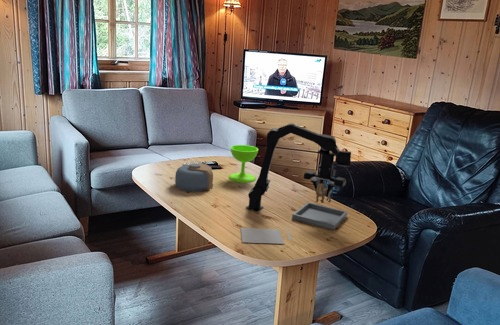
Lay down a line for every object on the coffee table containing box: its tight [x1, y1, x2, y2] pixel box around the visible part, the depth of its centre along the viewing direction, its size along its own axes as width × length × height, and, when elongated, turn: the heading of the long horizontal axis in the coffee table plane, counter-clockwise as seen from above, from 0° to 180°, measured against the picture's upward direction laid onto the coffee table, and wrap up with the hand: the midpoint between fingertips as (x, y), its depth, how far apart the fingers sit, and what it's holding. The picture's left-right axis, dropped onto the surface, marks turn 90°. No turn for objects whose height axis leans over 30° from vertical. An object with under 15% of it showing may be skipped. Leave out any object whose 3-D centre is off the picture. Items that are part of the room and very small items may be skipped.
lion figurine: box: [315, 182, 332, 204], centre depth 206 cm, size 15×5×9 cm, turn 154°
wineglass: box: [228, 144, 259, 184], centre depth 257 cm, size 16×16×18 cm
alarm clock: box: [174, 162, 214, 192], centre depth 237 cm, size 19×20×12 cm
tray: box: [291, 201, 348, 231], centre depth 208 cm, size 20×20×2 cm
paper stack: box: [240, 225, 292, 245], centre depth 189 cm, size 23×25×1 cm
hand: (322, 196), depth 206 cm, fingers closed on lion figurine, 4 cm apart
